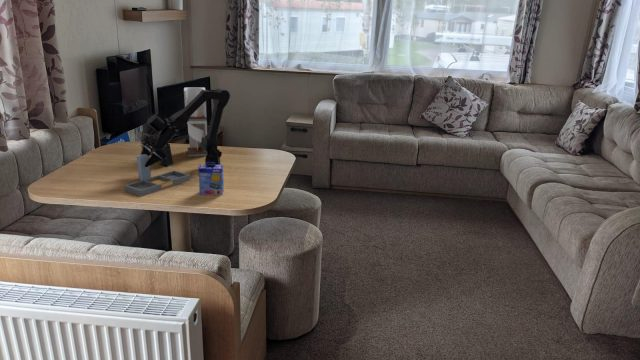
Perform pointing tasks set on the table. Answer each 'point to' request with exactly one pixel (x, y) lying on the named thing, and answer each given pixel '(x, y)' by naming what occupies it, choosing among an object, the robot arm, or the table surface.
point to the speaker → (168, 160)
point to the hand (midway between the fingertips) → (141, 164)
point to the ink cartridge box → (211, 179)
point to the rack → (157, 183)
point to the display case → (196, 123)
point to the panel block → (143, 167)
